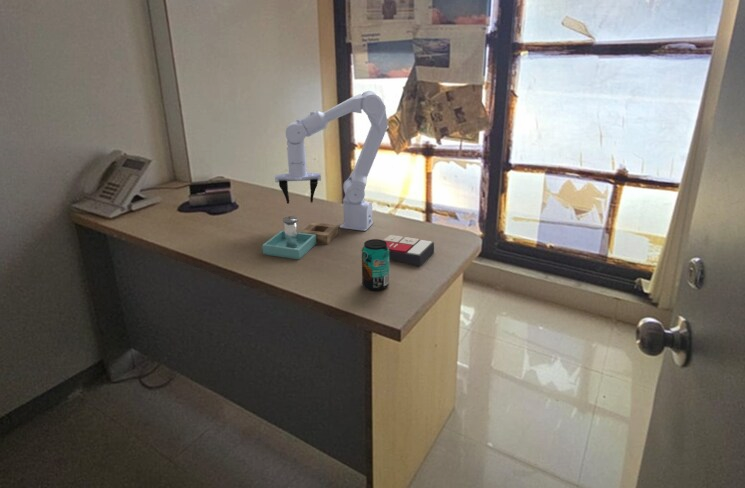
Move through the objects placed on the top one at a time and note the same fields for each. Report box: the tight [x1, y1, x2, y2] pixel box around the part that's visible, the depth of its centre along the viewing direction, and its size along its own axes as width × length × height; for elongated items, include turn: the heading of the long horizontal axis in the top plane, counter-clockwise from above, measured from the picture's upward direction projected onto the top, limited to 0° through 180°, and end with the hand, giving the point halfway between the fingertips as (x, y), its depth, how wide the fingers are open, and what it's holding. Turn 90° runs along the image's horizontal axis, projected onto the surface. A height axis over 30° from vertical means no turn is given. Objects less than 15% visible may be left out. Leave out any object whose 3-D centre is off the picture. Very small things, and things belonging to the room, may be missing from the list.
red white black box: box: [382, 234, 435, 268], centre depth 144 cm, size 11×4×15 cm
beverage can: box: [361, 238, 390, 292], centre depth 124 cm, size 7×7×12 cm
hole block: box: [300, 222, 339, 245], centre depth 156 cm, size 9×9×3 cm
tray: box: [261, 229, 318, 260], centre depth 148 cm, size 12×12×3 cm
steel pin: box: [282, 215, 299, 248], centre depth 147 cm, size 4×4×9 cm
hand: (299, 202), depth 160 cm, fingers open, 7 cm apart
